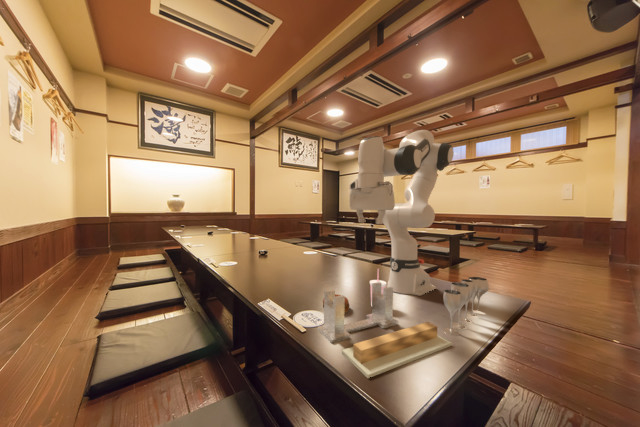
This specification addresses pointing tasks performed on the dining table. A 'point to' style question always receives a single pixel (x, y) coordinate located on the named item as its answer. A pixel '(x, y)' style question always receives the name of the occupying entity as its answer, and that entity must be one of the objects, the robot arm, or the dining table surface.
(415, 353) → the mat
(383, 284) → the beverage cup
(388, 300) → the rack
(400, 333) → the bar
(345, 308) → the burger
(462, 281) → the goblet set
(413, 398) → the dining table surface
